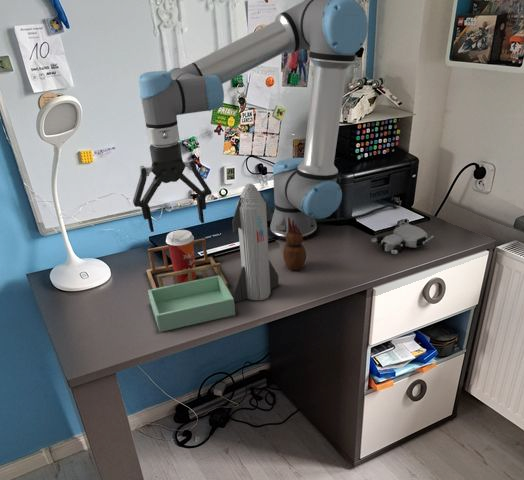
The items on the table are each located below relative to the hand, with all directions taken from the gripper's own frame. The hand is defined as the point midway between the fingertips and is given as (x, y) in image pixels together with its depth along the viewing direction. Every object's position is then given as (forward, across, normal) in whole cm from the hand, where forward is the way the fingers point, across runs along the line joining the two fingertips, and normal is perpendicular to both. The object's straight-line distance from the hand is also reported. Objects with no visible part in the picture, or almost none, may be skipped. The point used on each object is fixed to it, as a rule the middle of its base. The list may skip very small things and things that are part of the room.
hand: (177, 225), depth 141 cm
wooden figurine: (+17, +31, -6) cm, 36 cm away
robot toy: (+16, +66, -7) cm, 68 cm away
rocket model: (+17, +17, -16) cm, 28 cm away
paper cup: (+17, 0, 0) cm, 17 cm away
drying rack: (+17, 0, 0) cm, 17 cm away
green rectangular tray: (+17, -2, -16) cm, 24 cm away
